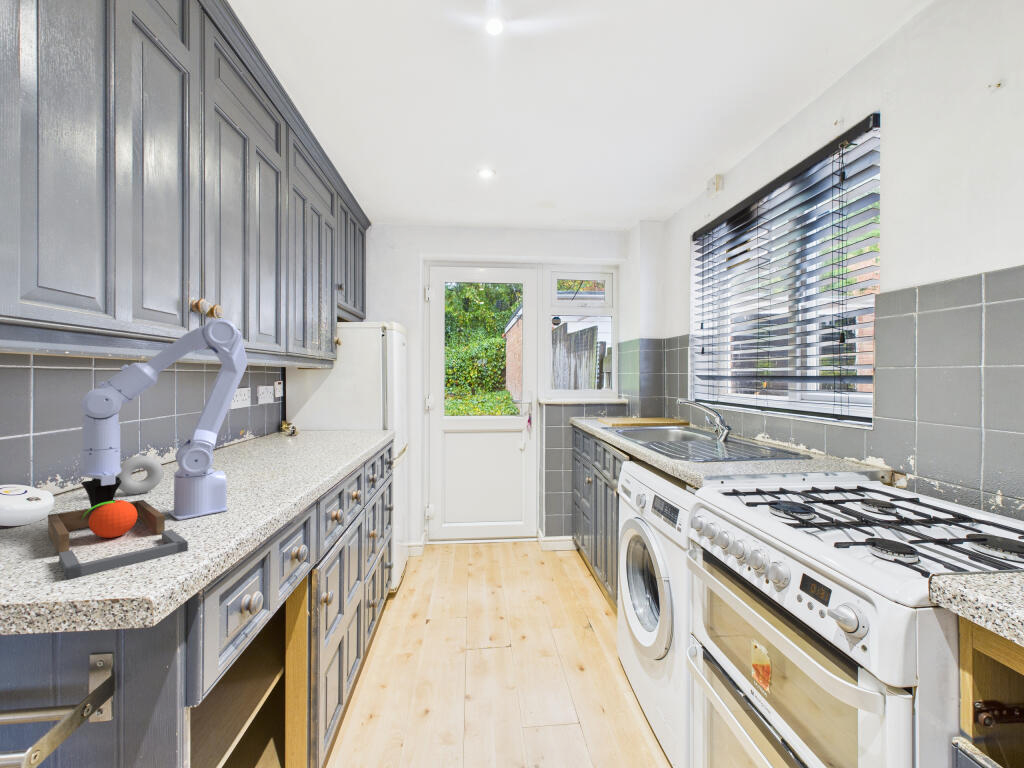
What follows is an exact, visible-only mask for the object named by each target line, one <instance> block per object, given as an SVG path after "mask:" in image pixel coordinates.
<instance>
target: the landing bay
mask: <svg viewBox="0 0 1024 768" xmlns="http://www.w3.org/2000/svg"><path fill="white" fill-rule="evenodd" d="M161 540H162V542H164V543H165V544H160V545H157V546H153V547H149V548H143V549H139V550H134V551H130V552H125V553H121V554H117V555H113V556H109V557H108V556H107V557H103V558H100V559H95V560H91V561H85V562H82V563H80V562H79V560H78V557H77V556H76V554H75V553H74V551H73V550H72V549H71V550H70V549H69V551H65V552H60V553H59V554H58V562H59V564H60V566H61V568H62V570H63V573H64V575H65V577H66V579H67V580H71V579H75V578H79V577H84V576H88V575H93V574H96V572H97V573H101V572H105V571H109V570H112V569H111V568H113V569H116V568H115V567H117V568H120V567H119V566H122V567H125V566H124V565H126V566H129V564H130V565H132V564H133V563H134V564H137V563H142V562H146V561H150V560H155V559H158V558H162V557H166V556H170V555H174V554H178V553H183V552H187V551H188V550H189V547H188V546H189V542H188V541H187V540H186V539H185V538H184V537H182V536H181V535H180V534H179V533H177V532H176V531H174V530H173V529H167V530H165V531H162V534H161ZM186 550H187V551H186ZM108 569H109V570H108ZM104 570H105V571H104ZM100 571H101V572H100ZM92 573H93V574H92Z"/></svg>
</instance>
